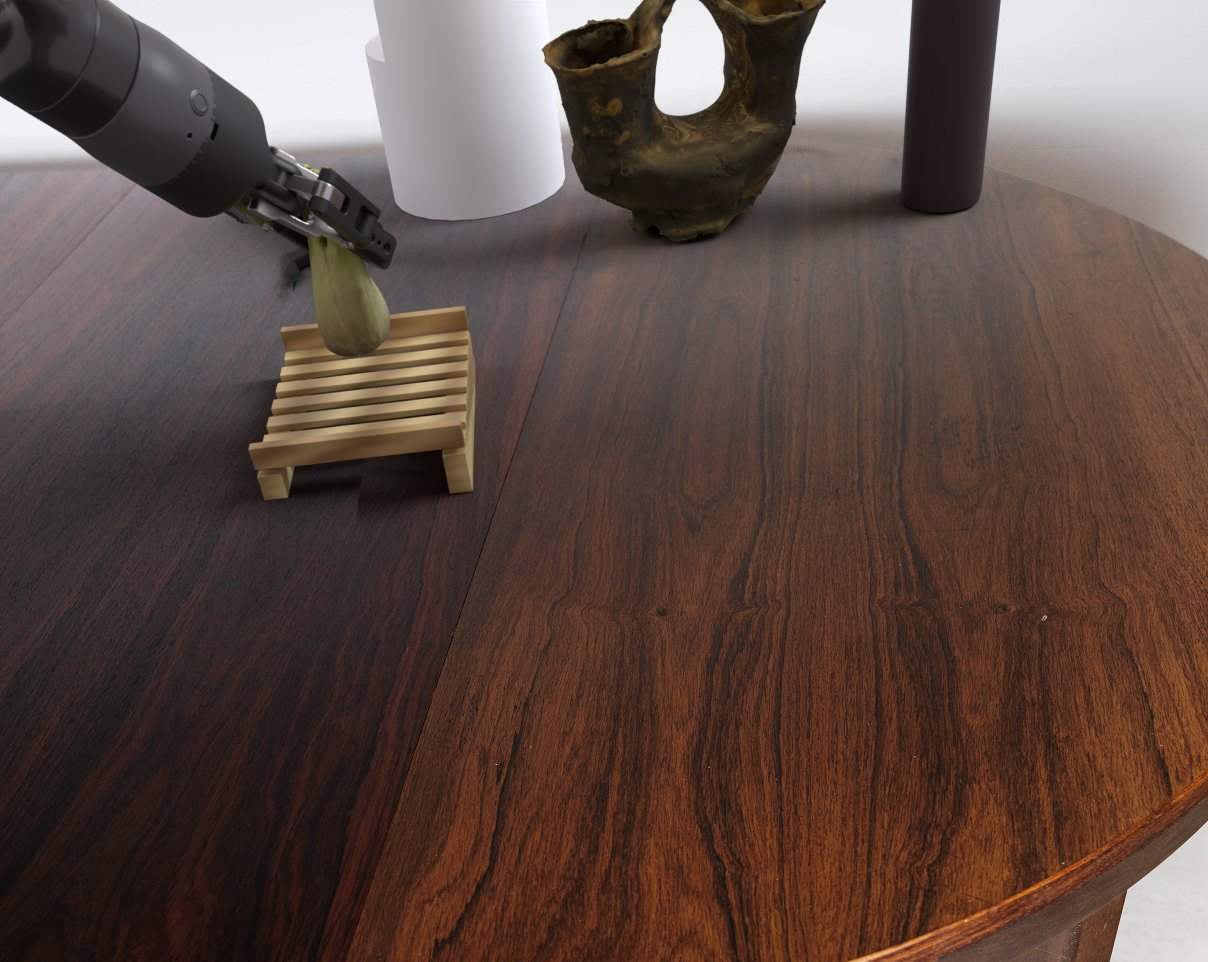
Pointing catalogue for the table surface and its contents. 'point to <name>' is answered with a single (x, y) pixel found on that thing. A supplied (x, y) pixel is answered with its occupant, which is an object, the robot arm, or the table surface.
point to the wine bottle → (948, 102)
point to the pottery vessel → (690, 142)
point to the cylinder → (466, 105)
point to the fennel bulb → (345, 297)
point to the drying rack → (373, 401)
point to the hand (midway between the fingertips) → (354, 247)
